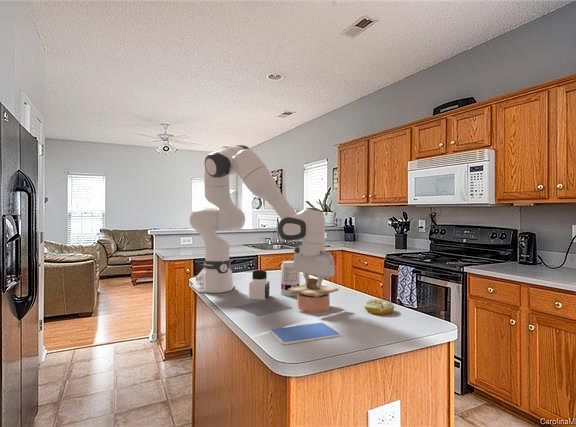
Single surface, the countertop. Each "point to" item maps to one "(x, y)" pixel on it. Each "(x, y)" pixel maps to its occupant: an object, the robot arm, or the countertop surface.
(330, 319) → the countertop surface
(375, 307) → the decorated donut
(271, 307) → the mat
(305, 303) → the bowl
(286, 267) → the supplement can
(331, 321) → the countertop surface
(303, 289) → the lid
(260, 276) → the medicine bottle
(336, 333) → the tablet computer
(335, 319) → the countertop surface
